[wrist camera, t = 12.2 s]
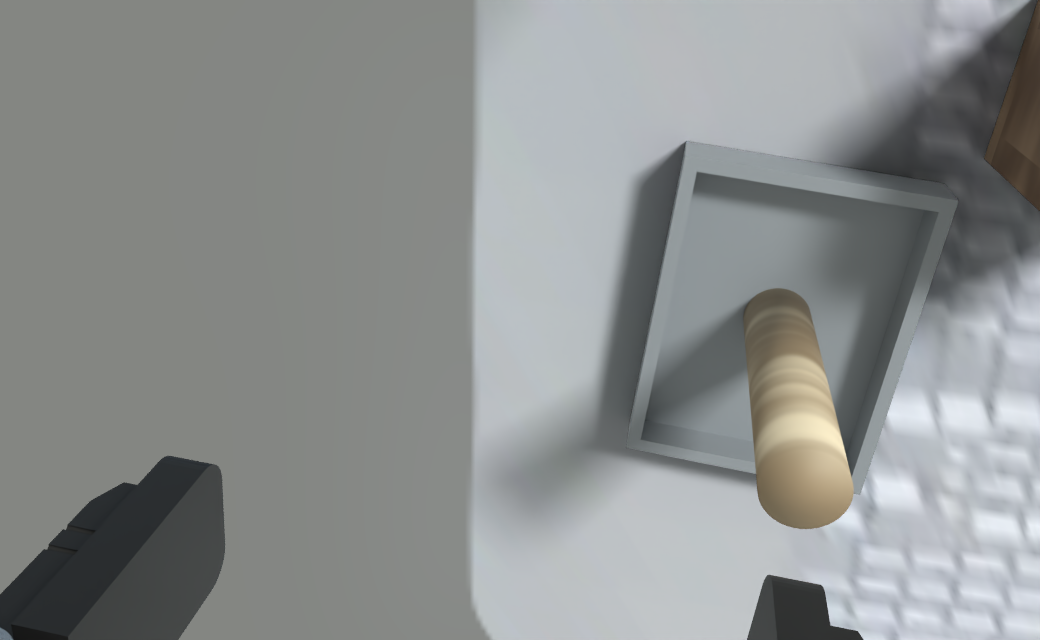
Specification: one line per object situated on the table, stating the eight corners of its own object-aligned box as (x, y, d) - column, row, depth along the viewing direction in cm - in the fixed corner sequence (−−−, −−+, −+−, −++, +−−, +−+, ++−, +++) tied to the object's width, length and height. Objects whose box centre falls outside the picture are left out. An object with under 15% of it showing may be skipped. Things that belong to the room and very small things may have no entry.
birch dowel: (751, 282, 43) (769, 442, 30) (818, 294, 43) (864, 460, 30) (736, 341, 44) (748, 518, 32) (802, 353, 44) (839, 537, 31)
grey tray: (686, 140, 41) (685, 155, 39) (944, 183, 40) (959, 200, 38) (629, 421, 48) (626, 447, 45) (852, 465, 46) (860, 494, 44)
